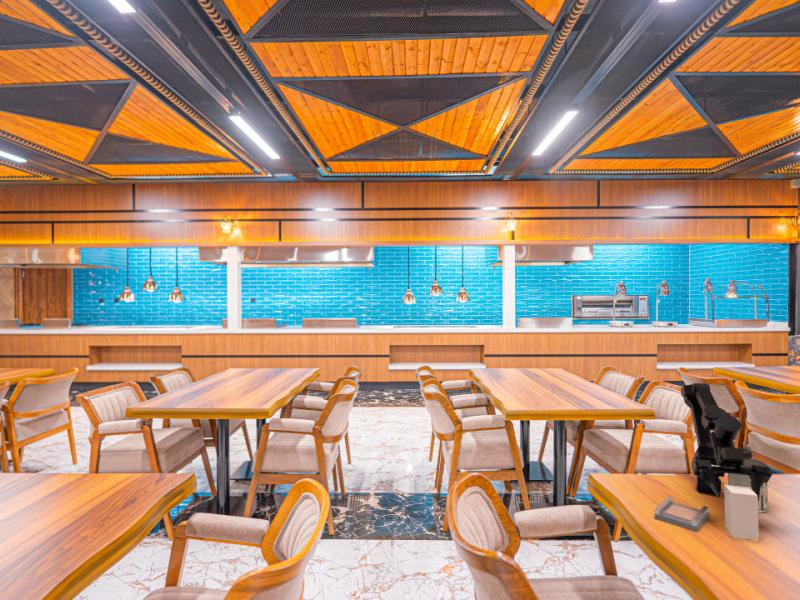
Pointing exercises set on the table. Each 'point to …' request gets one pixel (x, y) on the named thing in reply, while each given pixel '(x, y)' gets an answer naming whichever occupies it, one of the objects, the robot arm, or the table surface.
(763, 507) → the coffee can
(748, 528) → the cream block
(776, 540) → the table surface
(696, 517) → the display base
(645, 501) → the table surface
